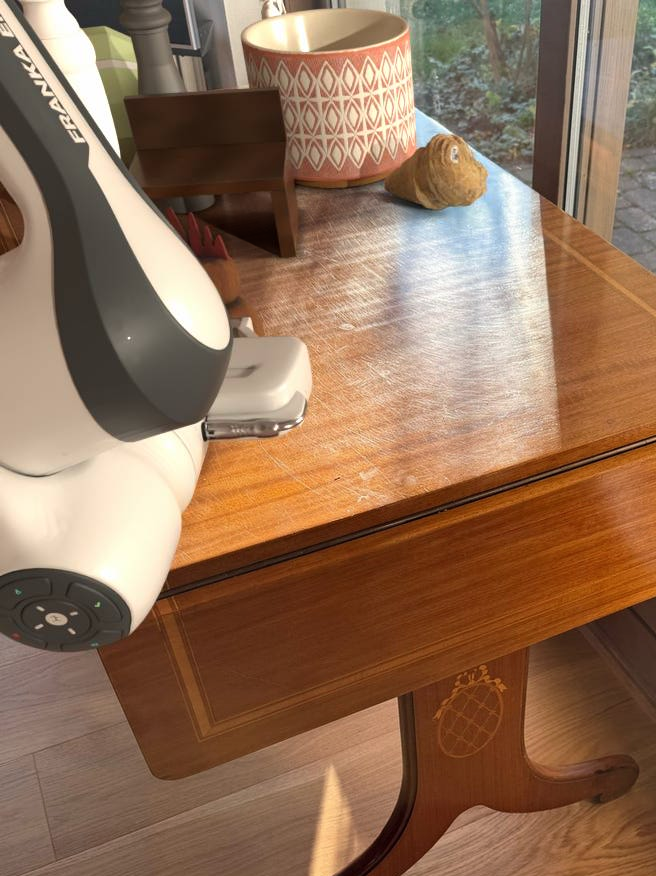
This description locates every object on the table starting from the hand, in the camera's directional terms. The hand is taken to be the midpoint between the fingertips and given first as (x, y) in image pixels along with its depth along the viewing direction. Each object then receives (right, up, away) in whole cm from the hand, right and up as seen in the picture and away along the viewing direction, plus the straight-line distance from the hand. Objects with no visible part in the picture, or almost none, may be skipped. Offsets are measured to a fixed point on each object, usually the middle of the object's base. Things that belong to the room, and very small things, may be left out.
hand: (175, 329), depth 69 cm
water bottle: (-20, +23, +40) cm, 51 cm away
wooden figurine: (0, +1, +17) cm, 17 cm away
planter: (+4, +37, +53) cm, 65 cm away
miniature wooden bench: (-7, +22, +38) cm, 45 cm away
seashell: (+17, +28, +43) cm, 54 cm away
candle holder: (-13, +29, +46) cm, 56 cm away
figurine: (-7, +48, +64) cm, 80 cm away
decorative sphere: (-23, +37, +54) cm, 70 cm away
